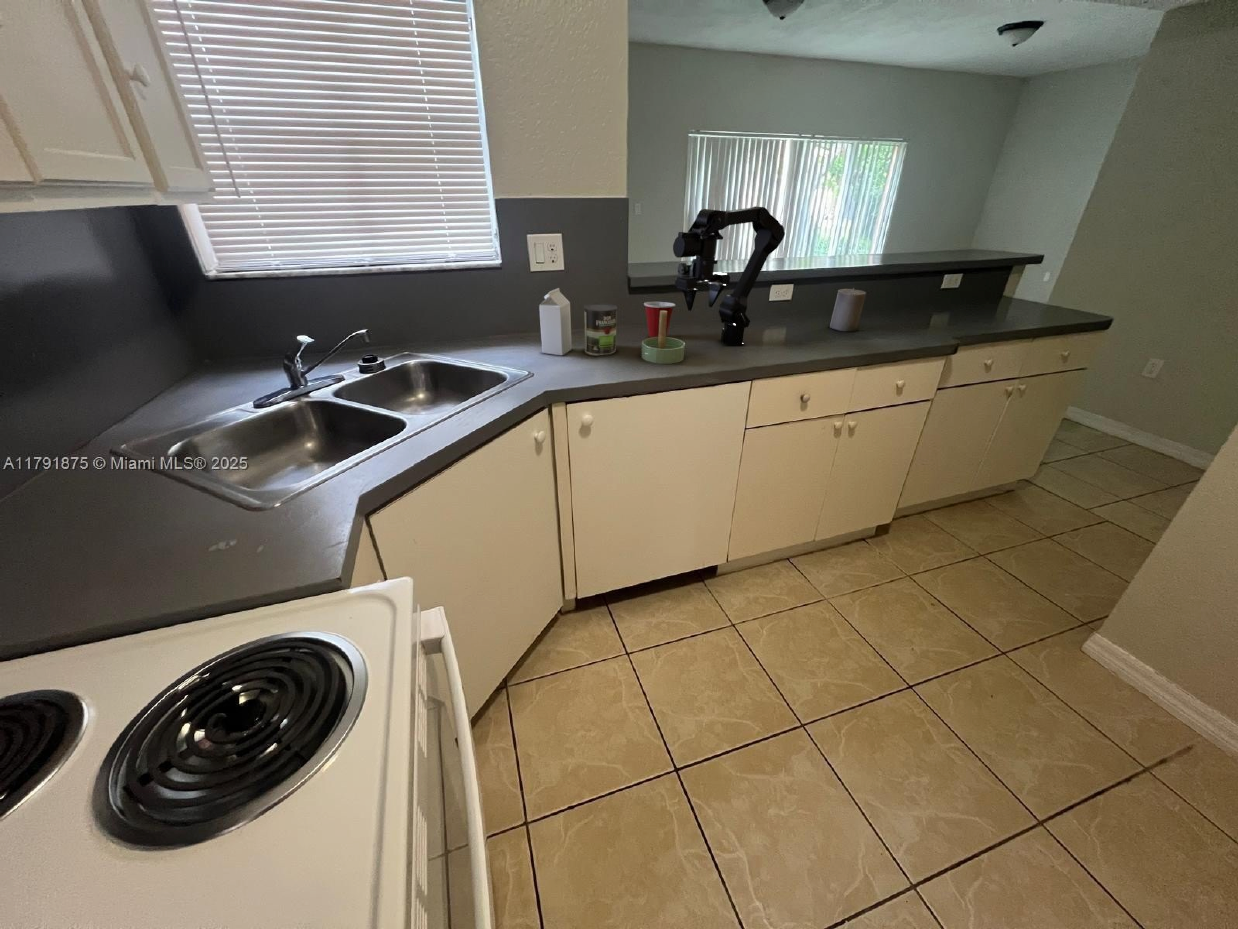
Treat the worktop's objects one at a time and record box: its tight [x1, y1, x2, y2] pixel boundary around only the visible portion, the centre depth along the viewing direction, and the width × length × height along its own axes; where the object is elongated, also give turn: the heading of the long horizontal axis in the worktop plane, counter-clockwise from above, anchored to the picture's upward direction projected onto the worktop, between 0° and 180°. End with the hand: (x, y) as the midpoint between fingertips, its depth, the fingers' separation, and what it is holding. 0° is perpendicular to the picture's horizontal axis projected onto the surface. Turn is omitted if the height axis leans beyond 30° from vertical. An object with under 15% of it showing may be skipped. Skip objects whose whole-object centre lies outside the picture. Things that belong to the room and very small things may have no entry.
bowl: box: [640, 336, 686, 365], centre depth 151 cm, size 13×13×5 cm
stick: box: [658, 310, 667, 349], centre depth 148 cm, size 5×5×14 cm
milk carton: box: [538, 287, 572, 356], centre depth 151 cm, size 7×7×19 cm
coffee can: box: [583, 302, 618, 357], centre depth 154 cm, size 10×10×14 cm
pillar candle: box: [829, 287, 867, 333], centre depth 183 cm, size 10×10×15 cm
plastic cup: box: [643, 301, 676, 338], centre depth 169 cm, size 11×11×12 cm
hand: (700, 308), depth 155 cm, fingers open, 9 cm apart
